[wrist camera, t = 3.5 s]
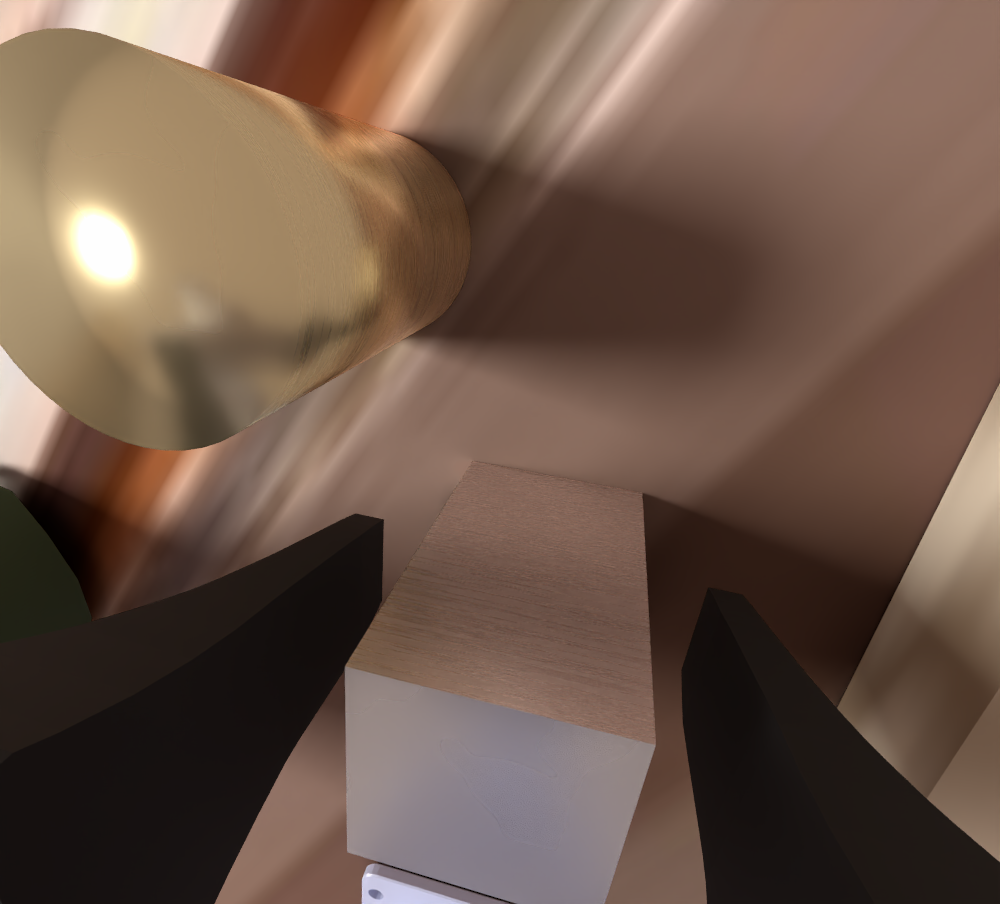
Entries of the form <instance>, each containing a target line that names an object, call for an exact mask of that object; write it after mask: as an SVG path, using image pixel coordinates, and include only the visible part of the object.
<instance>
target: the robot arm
mask: <svg viewBox="0 0 1000 904" xmlns="http://www.w3.org/2000/svg"><path fill="white" fill-rule="evenodd" d="M383 526H384V519H379V518H374V517H369V516H365V515H360V514H354V515H351V516H349V517H347V518H345V519H342V520H340V521H338V522H336V523H334V524H332V525H330V526H328V527H326V528H324V529H322V530H320V531H318V532H317V533H315V534H313V535H311V536H309V537H307V538H305V539H303V540H301V541H299V542H297V543H295V544H293V545H291V546H289V547H287V548H285V549H283V550H281V551H279V552H277V553H275V554H273V555H271V556H268V557H266V558H264V559H262V560H260V561H257V562H255V563H253V564H251V565H248V566H246V567H244V568H242V569H239V570H237V571H235V572H233V573H231V574H228V575H226V576H224V577H222V578H219V579H217V580H214V581H212V582H210V583H207V584H205V585H202V586H199V587H197V588H194V589H192V590H189V591H186V592H183V593H181V594H178V595H175V596H172V597H169V598H167V599H164V600H161V601H158V602H155V603H152V604H149V605H146V606H143V607H139V608H136V609H133V610H129V611H126V612H122V613H119V614H116V615H112V616H109V617H105V618H102V619H99V620H95V621H92V622H88V623H85V624H81V625H78V626H74V627H70V628H66V629H62V630H57V631H53V632H49V633H45V634H41V635H37V636H32V637H28V638H23V639H18V640H14V641H9V642H5V643H0V904H214V903H215V901H216V899H217V897H218V895H219V893H220V891H221V889H222V887H223V884H224V882H225V880H226V878H227V876H228V874H229V872H230V870H231V868H232V866H233V864H234V862H235V860H236V858H237V856H238V854H239V852H240V850H241V848H242V846H243V844H244V842H245V840H246V838H247V836H248V834H249V832H250V830H251V828H252V826H253V824H254V822H255V820H256V818H257V816H258V814H259V812H260V810H261V808H262V806H263V804H264V802H265V801H266V799H267V797H268V795H269V793H270V791H271V789H272V787H273V785H274V783H275V781H276V779H277V778H278V776H279V774H280V772H281V770H282V768H283V766H284V764H285V762H286V761H287V759H288V757H289V756H290V754H291V752H292V751H293V749H294V747H295V746H296V744H297V742H298V741H299V739H300V737H301V736H302V734H303V733H304V731H305V730H306V728H307V727H308V725H309V724H310V722H311V721H312V719H313V718H314V716H315V714H316V713H317V711H318V710H319V708H320V707H321V705H322V704H323V702H324V701H325V699H326V698H327V696H328V694H329V693H330V691H331V690H332V688H333V687H334V685H335V684H336V682H337V681H338V679H339V678H340V676H341V675H342V673H343V671H344V670H345V665H346V664H347V662H348V660H349V659H350V657H351V656H352V654H353V652H354V651H355V649H356V648H357V646H358V644H359V643H360V641H361V640H362V638H363V636H364V635H365V633H366V632H367V630H368V628H369V627H370V625H371V623H372V621H373V618H374V616H375V614H376V612H377V610H378V608H379V605H380V603H381V601H382V571H383ZM682 712H683V727H684V734H685V741H686V748H687V754H688V761H689V768H690V774H691V781H692V787H693V794H694V800H695V807H696V813H697V820H698V826H699V833H700V839H701V846H702V853H703V862H704V870H705V879H706V893H707V904H1000V862H999V861H998V860H997V859H996V858H994V857H993V856H992V855H991V854H990V853H989V852H987V851H986V850H985V849H984V848H983V847H982V846H980V845H979V844H978V843H977V842H976V841H974V840H973V839H972V838H971V837H970V836H969V835H967V834H966V833H965V832H964V831H963V830H962V829H960V828H959V827H958V826H957V825H956V824H955V823H953V822H952V821H951V820H950V819H949V818H948V817H947V816H946V815H944V814H943V813H942V812H941V811H940V810H939V809H938V808H937V807H936V806H934V805H933V804H932V803H931V802H930V801H929V800H928V799H927V798H926V797H924V796H923V795H922V794H921V793H920V792H919V791H918V790H917V789H916V788H915V787H914V786H913V785H912V784H911V783H910V782H909V781H908V780H907V779H906V778H905V777H904V776H902V775H901V774H900V773H899V772H898V771H897V770H896V769H895V768H894V767H893V766H892V765H891V764H890V763H889V762H888V761H887V760H886V759H885V758H884V757H883V756H882V755H881V754H880V753H879V752H878V751H877V750H876V749H875V748H874V747H873V746H872V745H871V744H870V743H869V742H868V741H867V740H866V739H865V738H864V737H863V736H862V735H861V734H860V733H859V732H858V731H857V729H856V728H855V727H854V726H853V725H852V724H851V723H850V722H849V721H848V720H847V719H846V718H845V717H844V715H843V714H842V713H841V712H840V711H839V710H838V709H837V708H836V707H835V706H834V705H833V704H832V702H831V701H830V700H829V699H828V698H827V697H826V696H825V694H824V693H823V692H822V691H821V690H820V689H819V688H818V686H817V685H816V684H815V683H814V682H813V681H812V679H811V678H810V677H809V676H808V675H807V674H806V672H805V671H804V670H803V669H802V668H801V666H800V665H799V664H798V663H797V662H796V660H795V659H794V658H793V657H792V655H791V654H790V653H789V652H788V651H787V649H786V648H785V647H784V646H783V644H782V643H781V642H780V641H779V639H778V638H777V637H776V636H775V634H774V633H773V632H772V631H771V629H770V628H769V627H768V626H767V624H766V623H765V622H764V620H763V619H762V618H761V617H760V615H759V614H758V613H757V612H756V610H755V609H754V608H753V607H752V605H751V604H750V603H749V602H748V601H747V599H746V598H745V597H744V596H743V595H741V594H737V593H732V592H727V591H722V590H717V589H713V588H708V590H707V593H706V596H705V599H704V603H703V606H702V609H701V612H700V615H699V618H698V621H697V624H696V627H695V630H694V633H693V636H692V639H691V642H690V646H689V649H688V652H687V655H686V658H685V661H684V664H683V667H682ZM362 904H510V903H507V902H504V901H500V900H497V899H494V898H491V897H487V896H484V895H481V894H478V893H474V892H471V891H468V890H464V889H461V888H458V887H455V886H451V885H448V884H445V883H441V882H438V881H435V880H432V879H428V878H425V877H422V876H418V875H415V874H412V873H409V872H405V871H402V870H399V869H396V868H392V867H389V866H386V865H382V864H378V863H374V864H370V865H369V866H367V868H366V871H365V873H364V876H363V878H362Z"/></svg>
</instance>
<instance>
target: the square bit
mask: <svg viewBox="0 0 1000 904" xmlns="http://www.w3.org/2000/svg"><path fill="white" fill-rule="evenodd" d="M345 717H346V790H347V852H348V853H352V854H355V855H358V856H362V857H365V858H368V859H371V860H375V861H378V862H381V863H385V864H388V865H391V866H394V867H398V868H401V869H404V870H408V871H411V872H414V873H417V874H421V875H424V876H427V877H430V878H434V879H437V880H440V881H444V882H447V883H450V884H453V885H457V886H460V887H463V888H467V889H470V890H473V891H476V892H480V893H483V894H486V895H490V896H493V897H496V898H499V899H503V900H506V901H509V902H513V903H516V904H605V901H606V897H607V894H608V891H609V888H610V885H611V882H612V879H613V876H614V873H615V870H616V867H617V863H618V860H619V857H620V854H621V851H622V848H623V845H624V842H625V839H626V836H627V833H628V829H629V826H630V823H631V820H632V817H633V814H634V811H635V808H636V805H637V802H638V799H639V795H640V792H641V789H642V786H643V783H644V780H645V777H646V774H647V771H648V768H649V765H650V762H651V758H652V755H653V752H654V749H655V746H656V740H655V721H654V702H653V683H652V665H651V646H650V627H649V608H648V590H647V571H646V552H645V533H644V515H643V496H642V493H640V492H635V491H630V490H624V489H619V488H614V487H609V486H603V485H598V484H593V483H587V482H582V481H577V480H571V479H566V478H561V477H556V476H550V475H545V474H540V473H534V472H529V471H524V470H518V469H513V468H508V467H503V466H497V465H492V464H487V463H481V462H476V461H472V462H471V464H470V466H469V467H468V469H467V471H466V472H465V474H464V475H463V477H462V479H461V480H460V482H459V483H458V485H457V487H456V488H455V490H454V491H453V493H452V495H451V496H450V498H449V499H448V501H447V503H446V504H445V506H444V508H443V509H442V511H441V512H440V514H439V516H438V517H437V519H436V520H435V522H434V524H433V525H432V527H431V528H430V530H429V532H428V533H427V535H426V537H425V538H424V540H423V541H422V543H421V545H420V546H419V548H418V549H417V551H416V553H415V554H414V556H413V557H412V559H411V561H410V562H409V564H408V565H407V567H406V569H405V570H404V572H403V574H402V575H401V577H400V578H399V580H398V582H397V583H396V585H395V586H394V588H393V590H392V591H391V593H390V594H389V596H388V598H387V599H386V601H385V603H384V604H383V606H382V607H381V609H380V611H379V612H378V614H377V615H376V617H375V619H374V620H373V622H372V623H371V625H370V627H369V628H368V630H367V632H366V633H365V635H364V636H363V638H362V640H361V641H360V643H359V644H358V646H357V648H356V649H355V651H354V652H353V654H352V656H351V657H350V659H349V660H348V662H347V664H346V665H345Z"/></svg>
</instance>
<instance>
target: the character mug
mask: <svg viewBox="0 0 1000 904" xmlns="http://www.w3.org/2000/svg"><path fill="white" fill-rule="evenodd" d="M91 619H92V617H91V614H90V611H89V609H88V606H87V603H86V600H85V598H84V595H83V592H82V589H81V587H80V584H79V581H78V579H77V577H76V576H75V575H74V573H73V572H72V570H71V569H70V567H69V566H68V564H67V563H66V561H65V560H64V558H63V557H62V555H61V554H60V552H59V551H58V549H57V548H56V546H55V545H54V543H53V542H52V540H51V539H50V537H49V536H48V535H47V533H46V532H45V531H44V530H43V528H42V527H41V526H40V525H39V524H38V522H37V521H36V520H35V519H34V517H33V516H32V515H31V514H30V513H29V511H28V510H27V509H26V508H25V506H24V505H23V504H22V503H21V502H20V500H19V499H18V498H17V497H16V495H15V494H14V493H13V492H12V491H10V490H8V489H6V488H4V487H2V486H0V643H5V642H9V641H14V640H18V639H23V638H28V637H32V636H37V635H41V634H45V633H49V632H53V631H57V630H62V629H66V628H70V627H74V626H78V625H81V624H85V623H88V622H91Z"/></svg>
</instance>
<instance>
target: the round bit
mask: <svg viewBox="0 0 1000 904" xmlns="http://www.w3.org/2000/svg"><path fill="white" fill-rule="evenodd" d="M470 254H471V233H470V224H469V219H468V214H467V210H466V207H465V204H464V201H463V198H462V196H461V194H460V192H459V190H458V188H457V186H456V184H455V182H454V180H453V179H452V177H451V176H450V174H449V173H448V171H447V170H446V169H445V168H444V166H443V165H442V164H441V163H440V162H439V160H437V159H436V158H435V157H434V156H433V155H432V154H431V153H430V152H429V151H428V150H426V149H425V148H423V147H422V146H421V145H419V144H418V143H416V142H414V141H412V140H410V139H408V138H406V137H404V136H401V135H398V134H395V133H392V132H389V131H386V130H384V129H381V128H378V127H375V126H372V125H369V124H366V123H363V122H360V121H357V120H354V119H351V118H348V117H345V116H342V115H339V114H336V113H333V112H331V111H328V110H325V109H322V108H319V107H316V106H313V105H310V104H307V103H304V102H301V101H298V100H295V99H292V98H289V97H286V96H283V95H280V94H278V93H275V92H272V91H269V90H266V89H263V88H260V87H257V86H254V85H251V84H248V83H245V82H242V81H239V80H236V79H233V78H230V77H227V76H225V75H222V74H219V73H216V72H213V71H210V70H207V69H204V68H201V67H198V66H195V65H192V64H189V63H186V62H183V61H180V60H177V59H174V58H172V57H169V56H166V55H163V54H160V53H157V52H154V51H151V50H148V49H145V48H142V47H139V46H136V45H133V44H130V43H127V42H124V41H121V40H119V39H116V38H113V37H110V36H107V35H104V34H101V33H97V32H91V31H85V30H79V29H73V28H62V29H43V30H39V31H34V32H29V33H25V34H22V35H20V36H17V37H15V38H13V39H11V40H9V41H6V42H4V43H2V44H1V45H0V345H1V346H2V347H3V349H4V350H5V351H6V353H7V354H8V355H9V356H10V358H11V359H12V360H13V362H14V363H15V364H16V365H17V366H18V367H19V368H20V369H21V370H22V372H23V373H24V374H25V375H26V376H27V377H28V378H29V379H30V380H31V381H32V382H33V383H34V384H35V385H36V386H37V387H38V388H39V389H40V390H41V391H42V392H43V393H44V394H46V395H47V396H48V397H49V398H50V399H51V400H53V401H54V402H55V403H56V404H58V405H59V406H60V407H62V408H63V409H64V410H65V411H67V412H68V413H70V414H71V415H73V416H74V417H76V418H77V419H79V420H80V421H82V422H83V423H85V424H87V425H89V426H90V427H92V428H94V429H96V430H98V431H100V432H102V433H104V434H106V435H108V436H111V437H113V438H116V439H119V440H121V441H124V442H126V443H130V444H134V445H138V446H141V447H145V448H152V449H159V450H190V449H197V448H203V447H206V446H209V445H213V444H216V443H219V442H221V441H223V440H225V439H227V438H229V437H231V436H233V435H235V434H237V433H239V432H240V431H242V430H244V429H246V428H247V427H249V426H251V425H253V424H254V423H256V422H258V421H260V420H262V419H263V418H265V417H267V416H269V415H270V414H272V413H274V412H276V411H277V410H279V409H281V408H283V407H284V406H286V405H288V404H290V403H292V402H293V401H295V400H297V399H299V398H300V397H302V396H304V395H306V394H307V393H309V392H311V391H313V390H314V389H316V388H318V387H320V386H321V385H323V384H325V383H327V382H329V381H330V380H332V379H334V378H336V377H337V376H339V375H341V374H343V373H344V372H346V371H348V370H350V369H351V368H353V367H355V366H357V365H359V364H360V363H362V362H364V361H366V360H367V359H369V358H371V357H373V356H374V355H376V354H378V353H380V352H381V351H383V350H385V349H387V348H389V347H390V346H392V345H394V344H396V343H397V342H399V341H401V340H403V339H404V338H406V337H408V336H410V335H411V334H413V333H415V332H417V331H419V330H420V329H422V328H424V327H426V326H427V325H429V324H431V323H432V322H433V321H435V320H436V319H438V318H439V317H440V316H441V315H442V314H443V313H444V312H445V311H446V310H447V309H448V308H449V307H450V305H451V304H452V303H453V301H454V300H455V298H456V297H457V295H458V293H459V291H460V290H461V287H462V285H463V283H464V280H465V278H466V274H467V270H468V267H469V261H470Z"/></svg>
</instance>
